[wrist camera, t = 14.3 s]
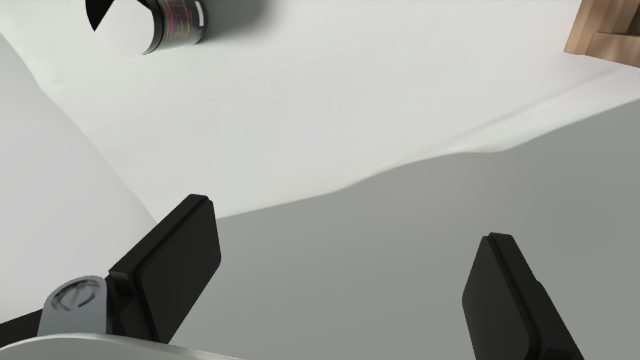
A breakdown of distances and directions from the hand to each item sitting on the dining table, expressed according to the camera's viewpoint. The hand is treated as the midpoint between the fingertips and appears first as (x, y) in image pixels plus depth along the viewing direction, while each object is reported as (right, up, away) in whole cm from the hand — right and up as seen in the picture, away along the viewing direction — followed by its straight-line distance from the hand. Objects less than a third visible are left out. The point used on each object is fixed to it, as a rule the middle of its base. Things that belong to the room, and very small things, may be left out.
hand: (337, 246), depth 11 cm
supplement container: (-17, +22, +27) cm, 39 cm away
